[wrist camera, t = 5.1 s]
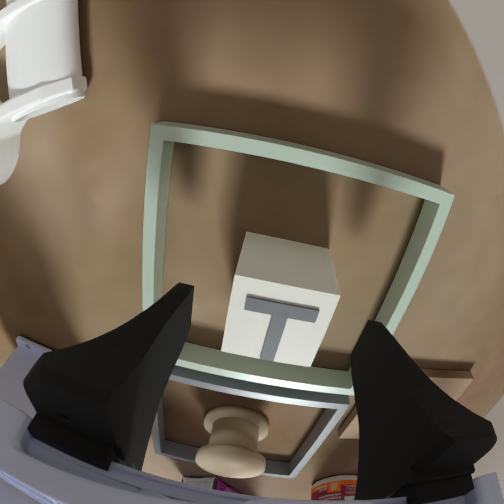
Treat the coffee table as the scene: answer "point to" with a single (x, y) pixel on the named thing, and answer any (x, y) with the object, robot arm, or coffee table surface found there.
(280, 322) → the letter cube
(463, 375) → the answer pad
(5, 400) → the robot arm
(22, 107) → the knuckle duster
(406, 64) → the coffee table surface
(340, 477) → the pill bottle
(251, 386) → the charcoal tray
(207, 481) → the candy bar box
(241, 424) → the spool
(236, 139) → the green tray
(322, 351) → the coffee table surface
